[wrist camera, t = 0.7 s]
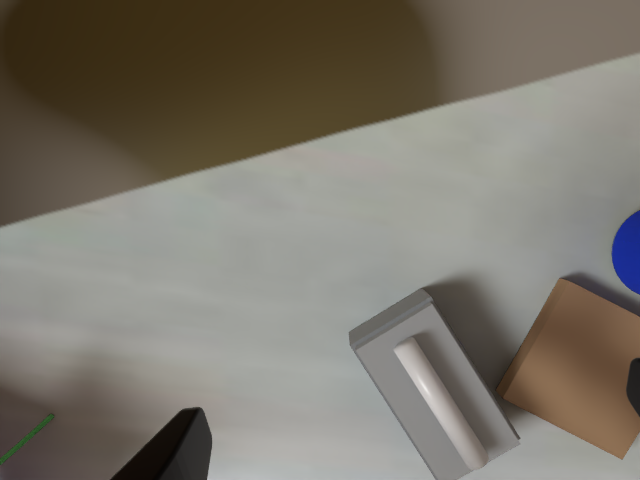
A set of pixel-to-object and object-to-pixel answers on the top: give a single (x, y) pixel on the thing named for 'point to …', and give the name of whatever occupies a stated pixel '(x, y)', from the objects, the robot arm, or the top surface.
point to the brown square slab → (578, 368)
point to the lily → (26, 439)
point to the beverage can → (628, 252)
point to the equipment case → (433, 387)
